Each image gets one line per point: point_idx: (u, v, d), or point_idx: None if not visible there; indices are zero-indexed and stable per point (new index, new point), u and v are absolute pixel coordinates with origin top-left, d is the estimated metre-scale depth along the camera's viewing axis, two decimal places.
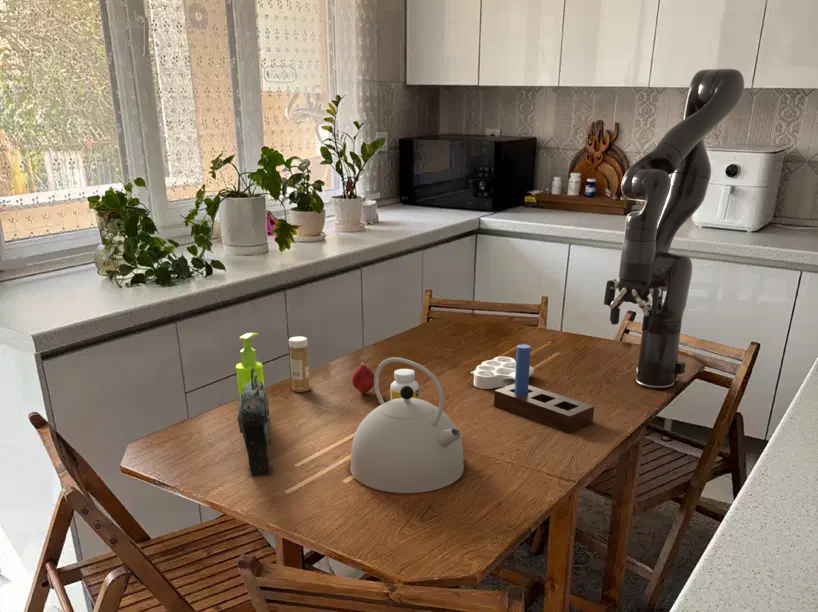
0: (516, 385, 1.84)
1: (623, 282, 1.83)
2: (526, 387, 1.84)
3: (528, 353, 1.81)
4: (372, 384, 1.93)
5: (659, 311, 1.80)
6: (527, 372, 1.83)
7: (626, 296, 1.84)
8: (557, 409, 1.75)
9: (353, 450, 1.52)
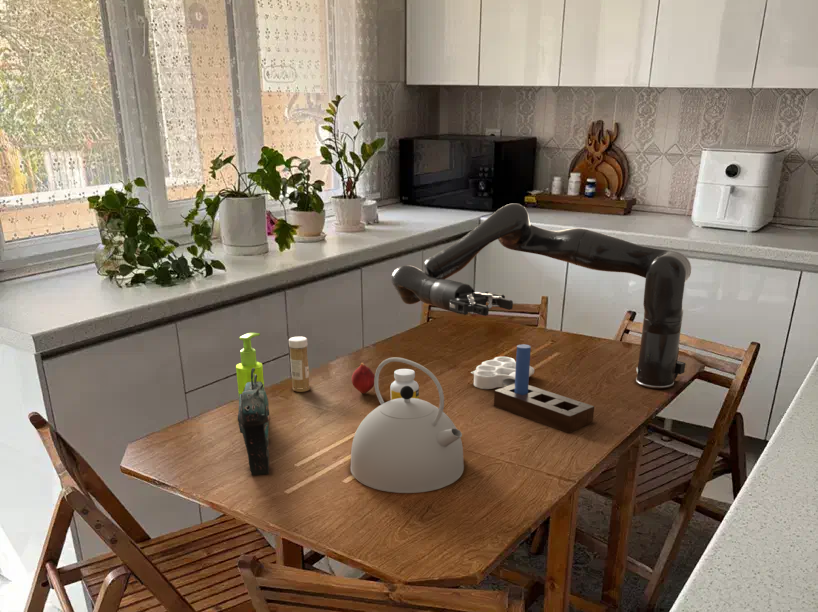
0: (516, 385, 1.84)
1: None
2: (526, 387, 1.84)
3: (528, 353, 1.81)
4: (372, 384, 1.93)
5: (463, 307, 1.85)
6: (527, 372, 1.83)
7: None
8: (557, 409, 1.75)
9: (353, 450, 1.52)
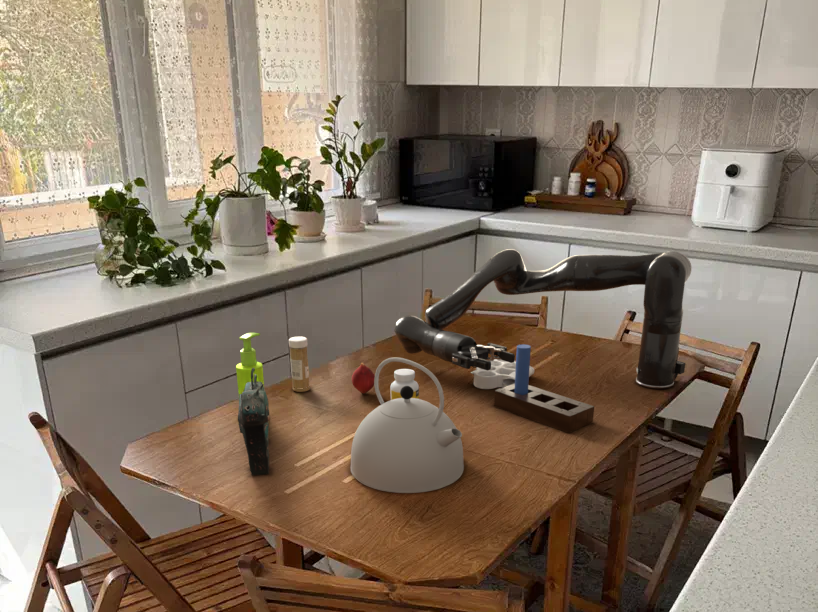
0: (516, 385, 1.84)
1: None
2: (526, 387, 1.84)
3: (528, 353, 1.81)
4: (372, 384, 1.93)
5: (466, 362, 1.87)
6: (527, 372, 1.83)
7: None
8: (557, 409, 1.75)
9: (353, 450, 1.52)
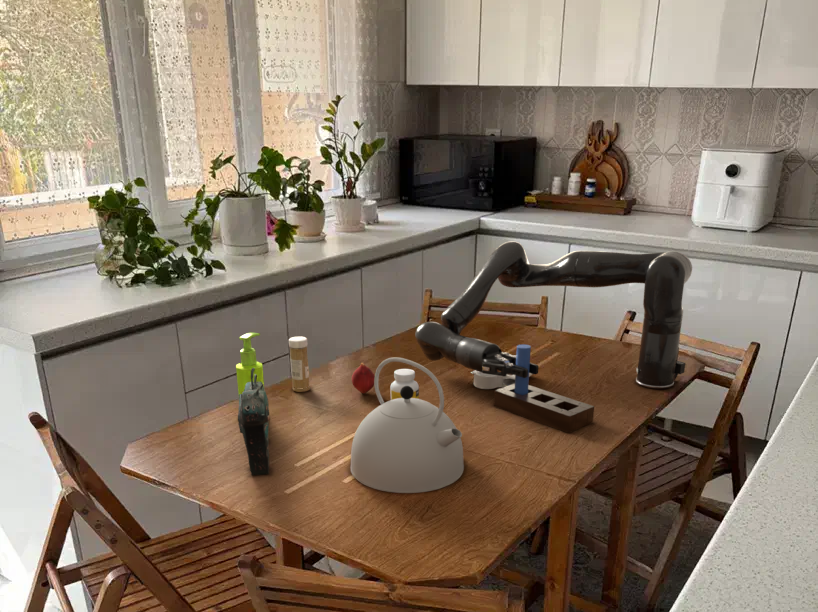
0: (516, 385, 1.84)
1: None
2: (526, 387, 1.84)
3: (528, 353, 1.81)
4: (372, 384, 1.93)
5: (502, 369, 1.82)
6: None
7: None
8: (557, 409, 1.75)
9: (353, 450, 1.52)
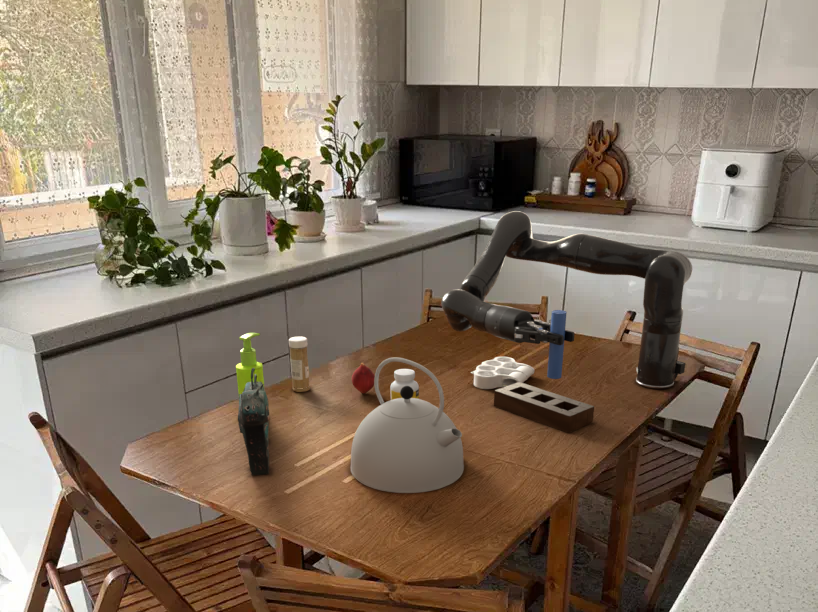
0: (550, 353, 1.74)
1: None
2: (561, 356, 1.74)
3: (564, 319, 1.70)
4: (372, 384, 1.93)
5: (536, 336, 1.72)
6: None
7: None
8: (557, 409, 1.75)
9: (353, 450, 1.52)
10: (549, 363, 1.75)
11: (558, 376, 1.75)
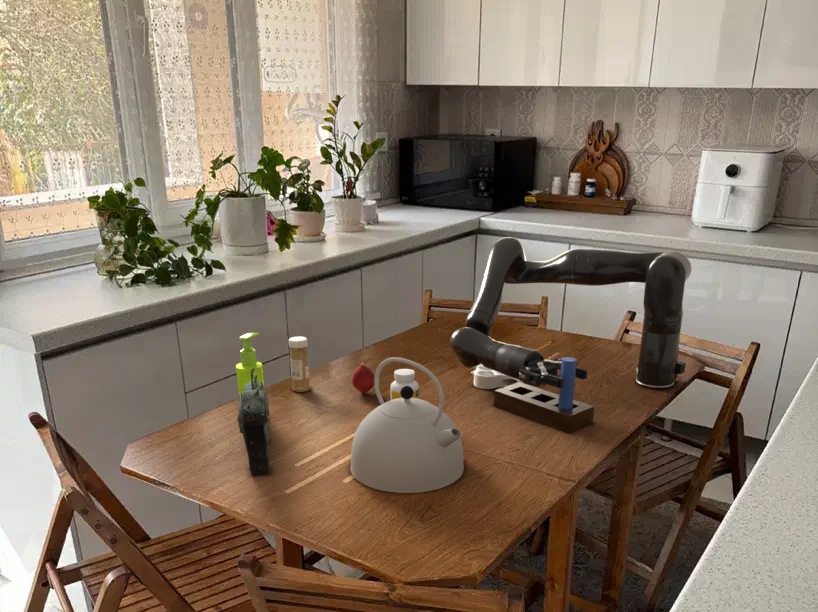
0: (560, 400, 1.75)
1: None
2: (571, 402, 1.75)
3: (574, 366, 1.72)
4: (372, 384, 1.93)
5: (535, 379, 1.72)
6: (572, 386, 1.74)
7: None
8: (557, 409, 1.75)
9: (353, 450, 1.52)
10: None
11: None
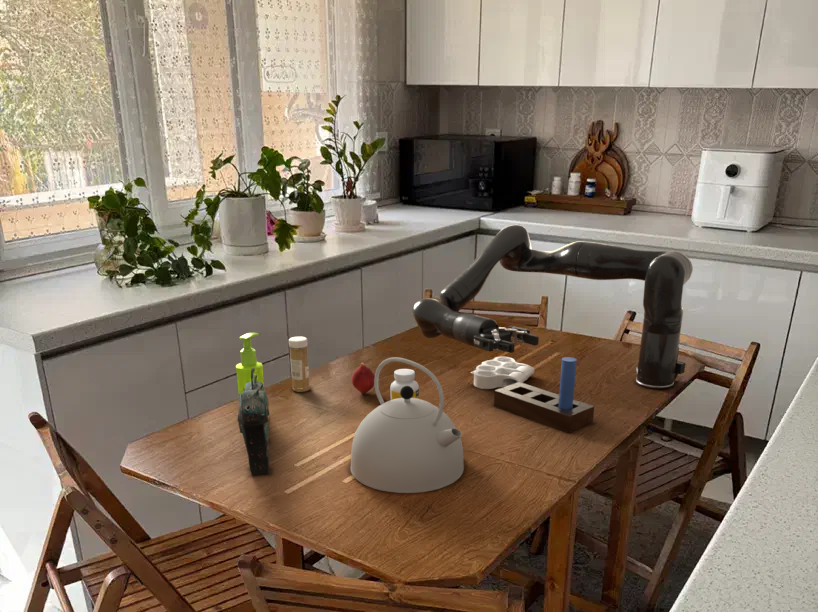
0: (560, 400, 1.75)
1: None
2: (571, 402, 1.75)
3: (574, 366, 1.72)
4: (372, 384, 1.93)
5: (488, 344, 1.80)
6: (572, 386, 1.74)
7: None
8: (557, 409, 1.75)
9: (353, 450, 1.52)
10: None
11: None
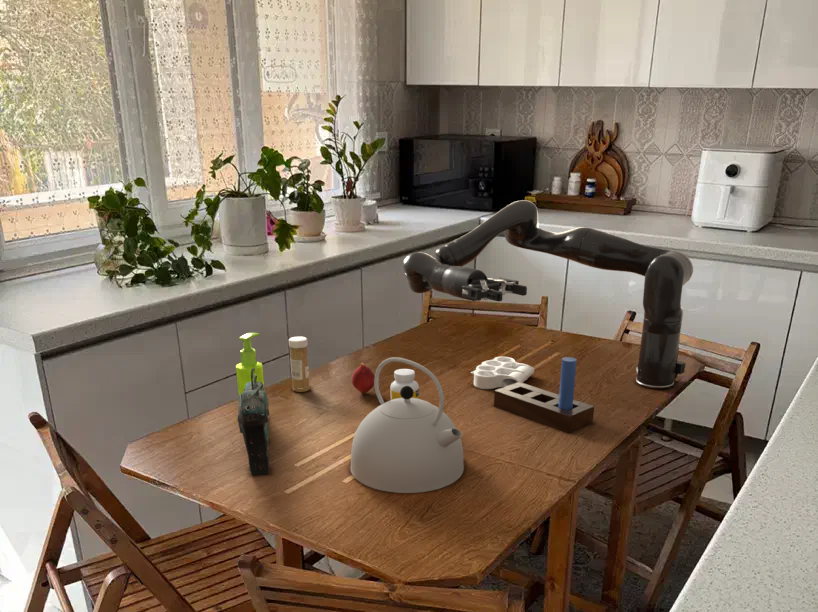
0: (560, 400, 1.75)
1: None
2: (571, 402, 1.75)
3: (574, 366, 1.72)
4: (372, 384, 1.93)
5: (476, 293, 1.81)
6: (572, 386, 1.74)
7: None
8: (557, 409, 1.75)
9: (353, 450, 1.52)
10: None
11: None
